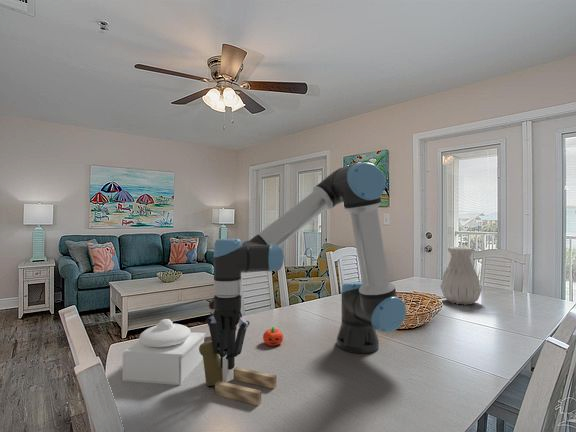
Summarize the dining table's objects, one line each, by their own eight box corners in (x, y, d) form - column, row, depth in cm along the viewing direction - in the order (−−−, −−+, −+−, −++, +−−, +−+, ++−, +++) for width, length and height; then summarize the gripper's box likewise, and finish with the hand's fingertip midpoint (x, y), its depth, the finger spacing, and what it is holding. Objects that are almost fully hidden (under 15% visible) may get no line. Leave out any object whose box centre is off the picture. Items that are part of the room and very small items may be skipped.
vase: (446, 306, 177) (446, 249, 177) (436, 297, 197) (436, 245, 197) (487, 308, 174) (488, 250, 174) (473, 298, 194) (473, 246, 194)
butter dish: (154, 356, 114) (154, 309, 114) (205, 359, 112) (205, 311, 112) (122, 381, 97) (122, 326, 97) (182, 386, 94) (182, 329, 94)
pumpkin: (286, 344, 126) (288, 328, 125) (271, 350, 120) (273, 333, 120) (273, 337, 131) (274, 321, 130) (257, 343, 125) (259, 326, 124)
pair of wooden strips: (276, 386, 94) (276, 375, 94) (258, 405, 84) (258, 393, 84) (236, 377, 99) (236, 366, 99) (214, 394, 90) (215, 383, 90)
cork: (208, 380, 98) (198, 342, 99) (228, 373, 98) (218, 336, 100) (204, 388, 92) (194, 347, 93) (226, 380, 92) (215, 340, 94)
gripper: (254, 293, 95) (254, 378, 95) (215, 289, 100) (215, 370, 100) (240, 299, 88) (240, 390, 88) (200, 295, 93) (199, 381, 93)
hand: (227, 379), depth 94 cm, fingers closed
